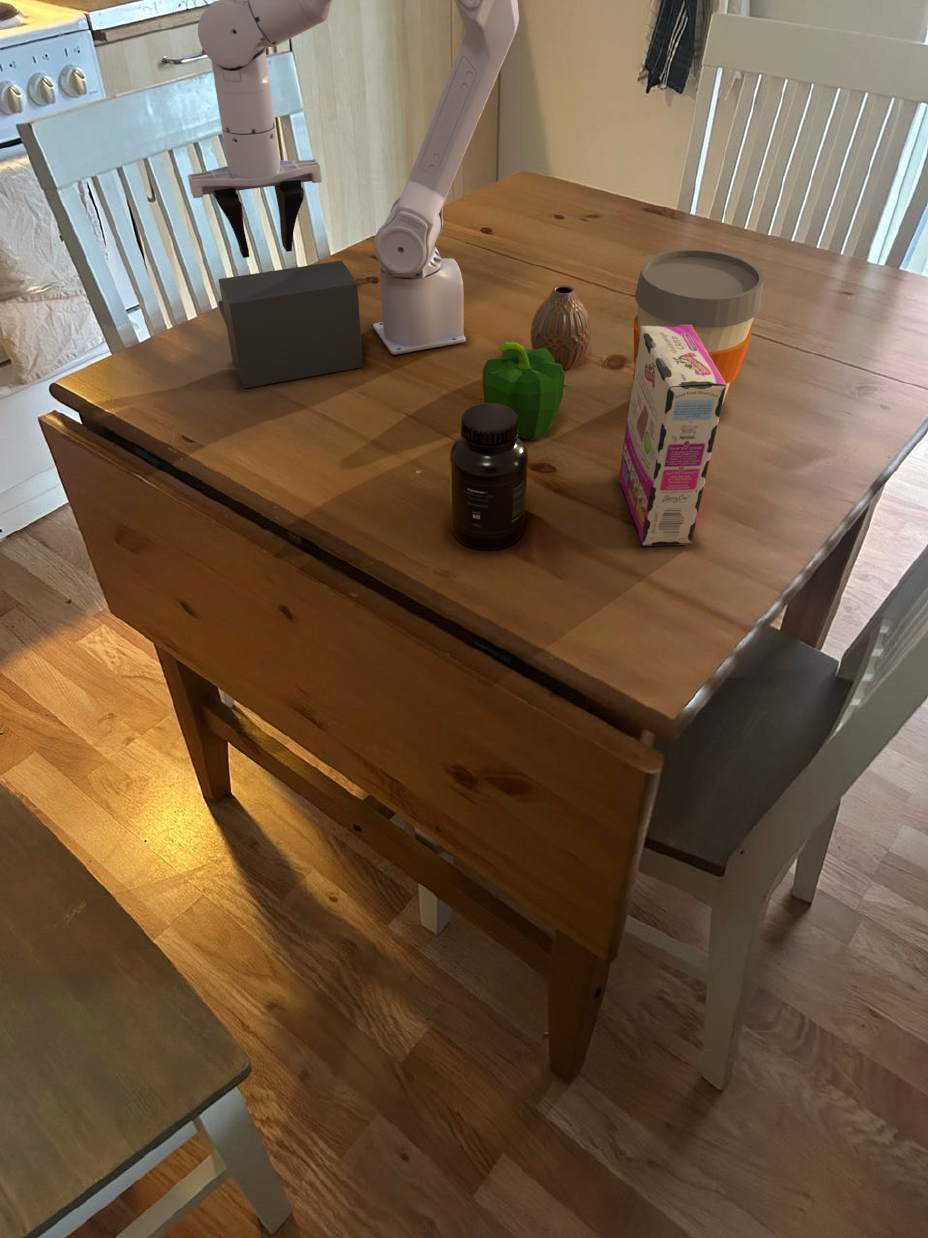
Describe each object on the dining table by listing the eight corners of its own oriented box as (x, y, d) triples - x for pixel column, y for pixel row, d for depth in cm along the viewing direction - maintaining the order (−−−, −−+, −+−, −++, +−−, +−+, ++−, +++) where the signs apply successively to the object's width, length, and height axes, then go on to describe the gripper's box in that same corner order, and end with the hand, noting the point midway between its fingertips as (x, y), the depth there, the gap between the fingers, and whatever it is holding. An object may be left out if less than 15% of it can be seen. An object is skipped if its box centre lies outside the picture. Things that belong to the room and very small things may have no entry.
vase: (584, 378, 110) (591, 305, 104) (525, 372, 111) (528, 299, 105) (590, 350, 115) (597, 279, 109) (533, 344, 116) (537, 273, 110)
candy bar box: (695, 545, 87) (730, 384, 76) (641, 548, 87) (668, 387, 76) (666, 476, 96) (693, 320, 84) (616, 478, 95) (637, 322, 84)
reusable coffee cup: (715, 448, 99) (744, 311, 89) (603, 417, 104) (618, 283, 93) (751, 394, 107) (781, 262, 97) (645, 367, 112) (664, 239, 101)
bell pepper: (565, 412, 104) (572, 326, 97) (555, 453, 98) (561, 365, 92) (489, 404, 106) (491, 318, 99) (475, 444, 100) (475, 356, 93)
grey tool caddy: (357, 283, 104) (331, 243, 111) (229, 303, 101) (210, 261, 108) (363, 366, 111) (338, 325, 118) (243, 388, 108) (225, 344, 115)
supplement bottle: (436, 536, 88) (433, 423, 80) (474, 499, 93) (476, 388, 84) (500, 561, 86) (504, 447, 78) (537, 522, 90) (544, 409, 82)
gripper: (305, 109, 108) (317, 230, 118) (175, 123, 104) (198, 247, 114) (321, 127, 103) (332, 252, 113) (185, 142, 100) (209, 270, 109)
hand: (266, 251), depth 113 cm, fingers open, 4 cm apart
